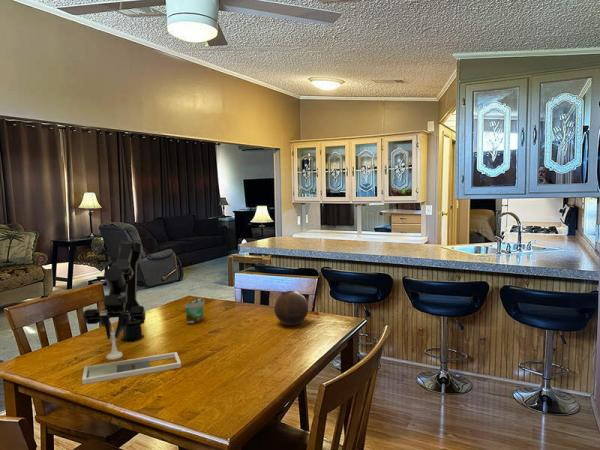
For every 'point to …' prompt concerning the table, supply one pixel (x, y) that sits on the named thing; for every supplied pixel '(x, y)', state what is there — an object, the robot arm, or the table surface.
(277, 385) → the table surface
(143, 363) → the trap box
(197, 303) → the food container
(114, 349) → the chess piece
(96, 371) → the pad
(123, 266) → the robot arm
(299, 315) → the wooden sphere
